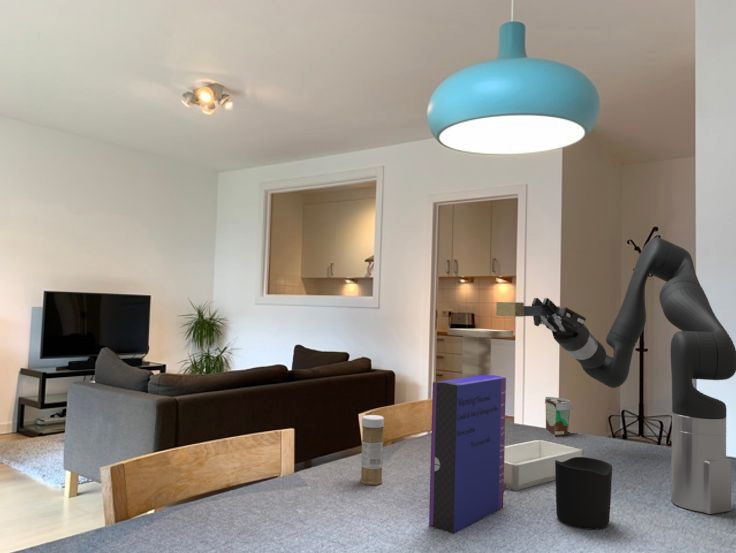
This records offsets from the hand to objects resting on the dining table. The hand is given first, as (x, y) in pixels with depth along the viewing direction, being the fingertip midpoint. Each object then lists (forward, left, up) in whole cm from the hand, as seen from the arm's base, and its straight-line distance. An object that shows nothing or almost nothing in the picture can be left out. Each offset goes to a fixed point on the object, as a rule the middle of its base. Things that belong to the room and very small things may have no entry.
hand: (539, 301), depth 137 cm
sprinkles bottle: (+4, +39, -39) cm, 55 cm away
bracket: (-5, +20, -38) cm, 44 cm away
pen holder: (-28, +13, -39) cm, 49 cm away
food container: (+31, -35, -39) cm, 61 cm away
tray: (-1, +3, -38) cm, 39 cm away
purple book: (-19, +31, -39) cm, 53 cm away
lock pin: (-1, +2, -3) cm, 4 cm away
